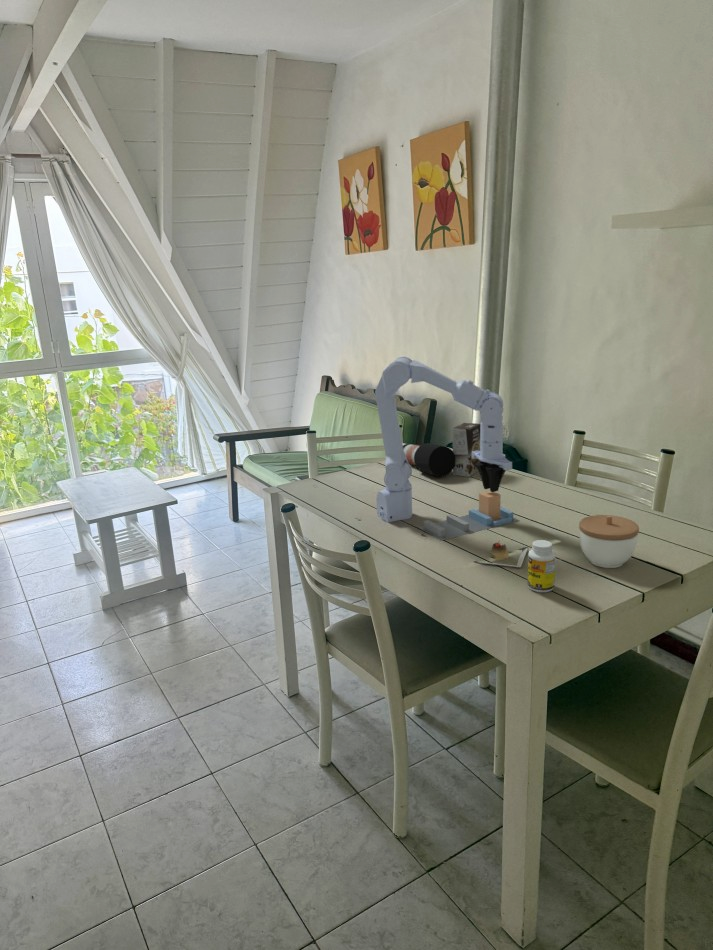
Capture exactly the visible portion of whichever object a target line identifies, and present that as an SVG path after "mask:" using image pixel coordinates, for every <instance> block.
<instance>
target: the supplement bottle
mask: <svg viewBox="0 0 713 950" xmlns="http://www.w3.org/2000/svg"><path fill="white" fill-rule="evenodd" d="M527 556H528V557H527V559H528V560H527V587H528V589H529V590H531V591H534V592H536V593H549V592H551V591H552V590H553V591H554V589H555V582H556V580H555V579H556V578H555V577H556V561H557V560H556V557H557V555H556V552H555V551H554V550H553V543H552V542H551V541H548V540H545V539H544V540H543V539H538V540H534V541H533V542H532V547H531V549H530V550H529V551H528V555H527Z"/></svg>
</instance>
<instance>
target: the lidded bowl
mask: <svg viewBox="0 0 713 950" xmlns="http://www.w3.org/2000/svg"><path fill="white" fill-rule="evenodd" d="M578 529H579V531H578V532H579V533H578V534H579V544H580V548H581V551H582V552H583V554H584V555H585V556H586V559H588V560H589V562H590V563H591V564H592V565H594V566H597V567H599V568H604V569H616V568H620V567H622V566H623V564H625V563H626V562H628V560H630V559H631V558H632V556H633V554H634V553H635V550H636V547H637V543H638V537H639V536H638V535H639V533H640V531H639V530H640V527H639V525H638V524H637V523H636V522H635V521H633V520H632V519H629V518H626V517H623V516H618V515H610V514H598V515H597V514H596V515H595V514H594V515H591V516H590V515H589V516H586V517H584V518H582V519H581V520H580V521H579V523H578Z"/></svg>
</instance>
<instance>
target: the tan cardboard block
mask: <svg viewBox="0 0 713 950" xmlns="http://www.w3.org/2000/svg"><path fill="white" fill-rule="evenodd" d="M500 507H501V494H500V493H497V492H496V491H495V492H491V491H490V490H489V491H484V492H479V493H478V509H479V512H481V513H483V514H485V515H487V516H489V517H491V518H492V521H495V520H499V519H500Z"/></svg>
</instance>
